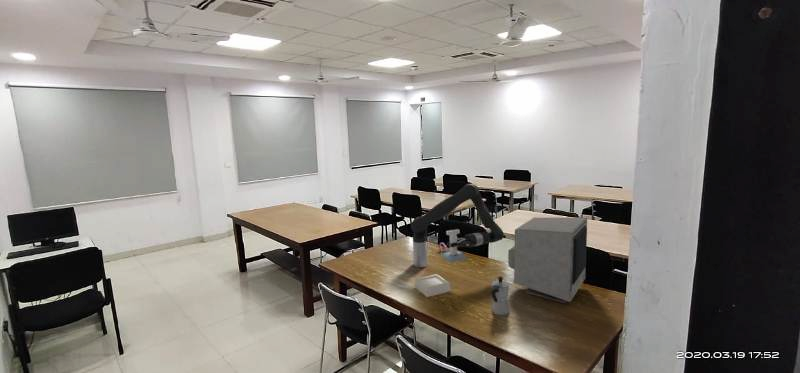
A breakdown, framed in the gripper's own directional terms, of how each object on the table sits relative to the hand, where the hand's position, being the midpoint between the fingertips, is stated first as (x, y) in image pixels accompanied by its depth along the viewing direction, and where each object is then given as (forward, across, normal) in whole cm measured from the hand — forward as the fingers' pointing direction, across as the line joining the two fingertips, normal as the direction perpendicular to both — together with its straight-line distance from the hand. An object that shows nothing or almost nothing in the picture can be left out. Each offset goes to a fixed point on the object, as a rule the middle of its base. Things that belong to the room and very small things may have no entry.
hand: (449, 244), depth 215 cm
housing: (+12, 0, +25) cm, 28 cm away
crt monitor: (-41, +32, +25) cm, 58 cm away
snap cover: (-3, 0, +8) cm, 9 cm away
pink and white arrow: (-30, -49, +26) cm, 63 cm away
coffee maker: (-4, +40, +25) cm, 47 cm away
